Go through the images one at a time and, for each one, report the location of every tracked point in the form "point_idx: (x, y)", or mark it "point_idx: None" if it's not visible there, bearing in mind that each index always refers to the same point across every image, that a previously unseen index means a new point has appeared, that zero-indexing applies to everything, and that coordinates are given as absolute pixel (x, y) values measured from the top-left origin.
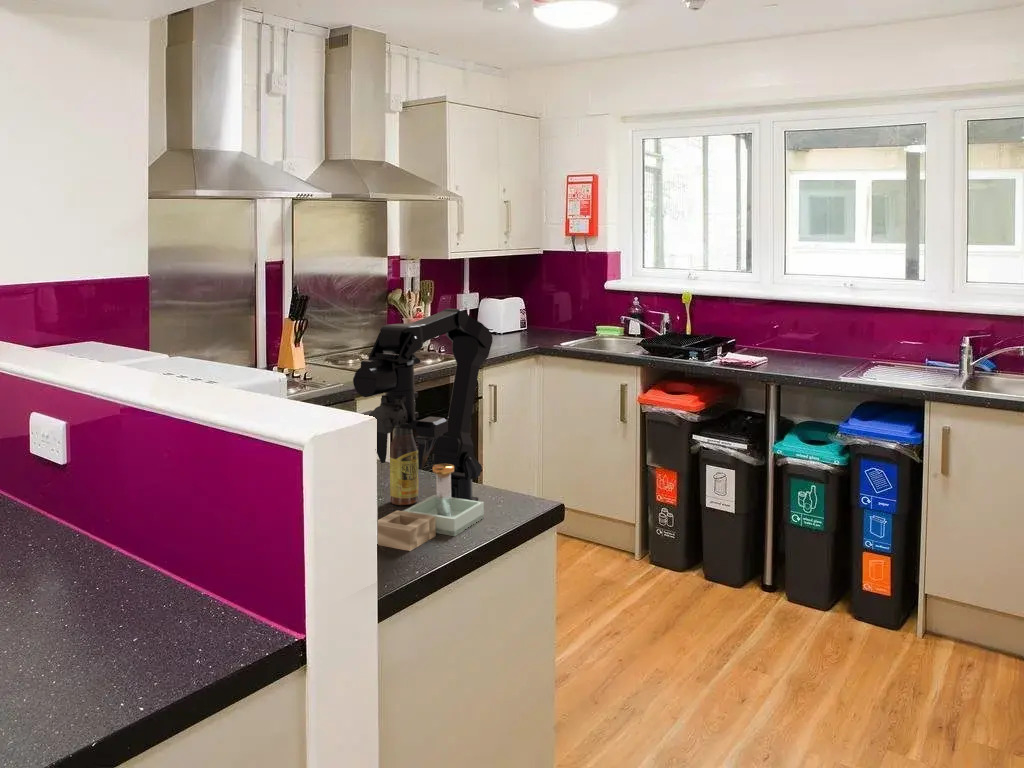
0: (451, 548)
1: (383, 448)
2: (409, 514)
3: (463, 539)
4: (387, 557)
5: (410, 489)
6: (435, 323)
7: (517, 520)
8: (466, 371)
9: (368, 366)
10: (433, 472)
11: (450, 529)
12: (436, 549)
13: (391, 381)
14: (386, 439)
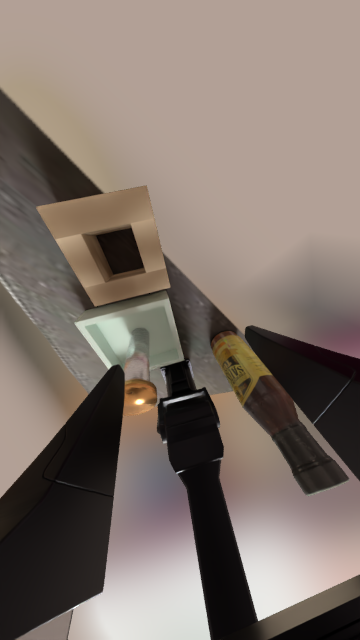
0: (34, 273)
1: (280, 365)
2: (136, 286)
3: (65, 310)
4: (54, 147)
5: (218, 352)
6: None
7: (89, 380)
8: None
9: None
10: (141, 379)
11: (88, 312)
12: (44, 253)
13: None
14: (303, 407)
